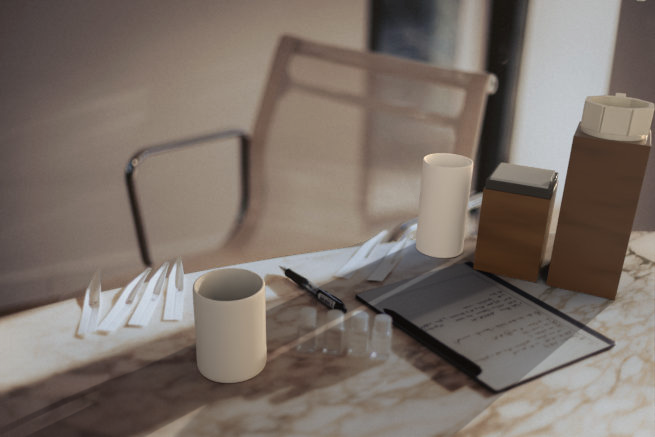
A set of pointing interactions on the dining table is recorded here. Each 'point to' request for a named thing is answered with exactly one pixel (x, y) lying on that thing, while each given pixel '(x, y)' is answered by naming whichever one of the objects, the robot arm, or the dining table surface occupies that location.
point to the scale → (522, 180)
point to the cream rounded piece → (617, 117)
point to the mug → (230, 324)
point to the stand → (569, 220)
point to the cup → (443, 204)
